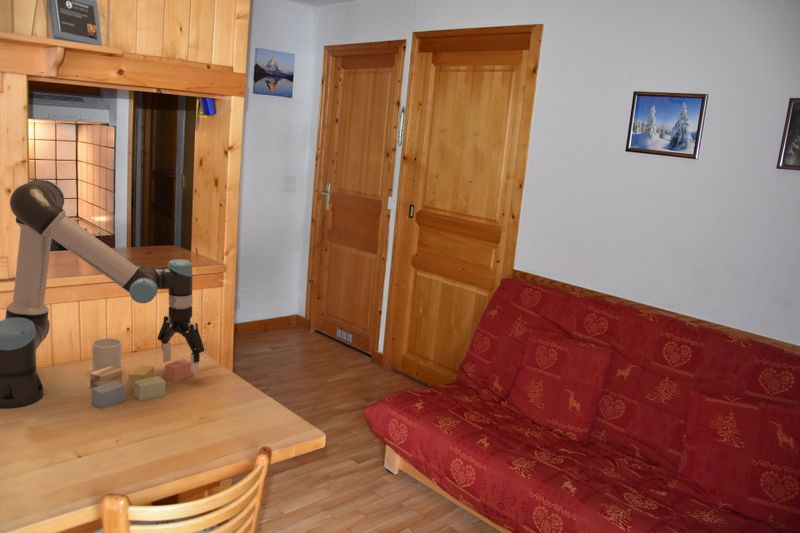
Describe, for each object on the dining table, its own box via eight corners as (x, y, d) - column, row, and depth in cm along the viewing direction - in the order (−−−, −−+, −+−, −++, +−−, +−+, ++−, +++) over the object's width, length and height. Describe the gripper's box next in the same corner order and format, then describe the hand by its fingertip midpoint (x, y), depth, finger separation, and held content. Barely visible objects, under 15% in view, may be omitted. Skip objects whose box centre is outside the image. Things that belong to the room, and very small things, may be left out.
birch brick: (90, 387, 209) (90, 373, 208) (111, 379, 216) (111, 365, 215) (101, 391, 207) (101, 376, 206) (121, 383, 214) (121, 369, 213)
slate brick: (91, 403, 198) (91, 388, 197) (115, 395, 205) (115, 381, 204) (101, 408, 196) (101, 393, 195) (125, 400, 202) (125, 385, 201)
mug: (119, 378, 218) (119, 346, 215) (90, 379, 215) (90, 347, 213) (124, 365, 229) (124, 334, 226) (96, 365, 226) (96, 335, 224)
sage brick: (133, 395, 206) (133, 380, 205) (159, 390, 212) (159, 376, 211) (139, 401, 203) (139, 386, 202) (165, 396, 208) (165, 381, 207)
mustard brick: (128, 388, 211) (128, 373, 210) (139, 379, 219) (139, 365, 218) (144, 389, 211) (144, 375, 210) (153, 380, 219) (154, 366, 218)
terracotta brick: (164, 378, 221) (164, 364, 220) (183, 372, 228) (183, 358, 227) (174, 382, 219) (175, 368, 218) (193, 375, 226) (193, 362, 224)
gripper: (146, 300, 221) (146, 359, 225) (198, 316, 209) (197, 378, 213) (164, 296, 227) (164, 354, 232) (215, 311, 215) (215, 371, 220)
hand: (180, 365), depth 222 cm, fingers open, 13 cm apart
